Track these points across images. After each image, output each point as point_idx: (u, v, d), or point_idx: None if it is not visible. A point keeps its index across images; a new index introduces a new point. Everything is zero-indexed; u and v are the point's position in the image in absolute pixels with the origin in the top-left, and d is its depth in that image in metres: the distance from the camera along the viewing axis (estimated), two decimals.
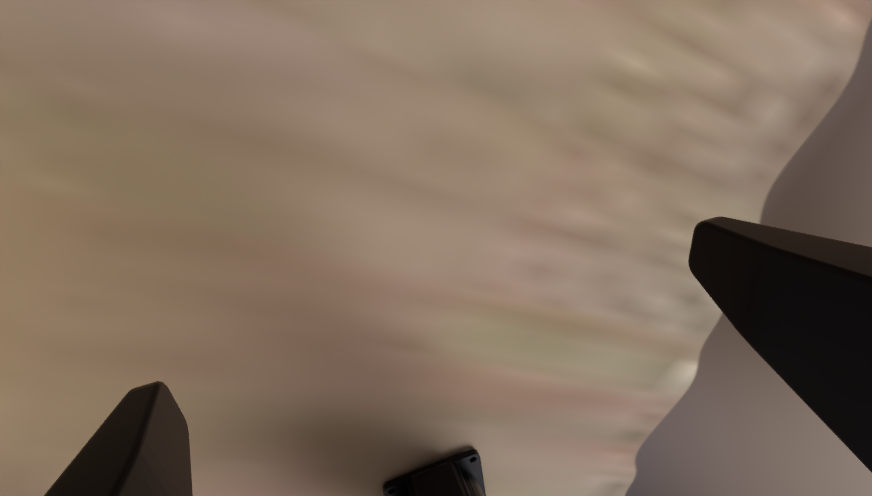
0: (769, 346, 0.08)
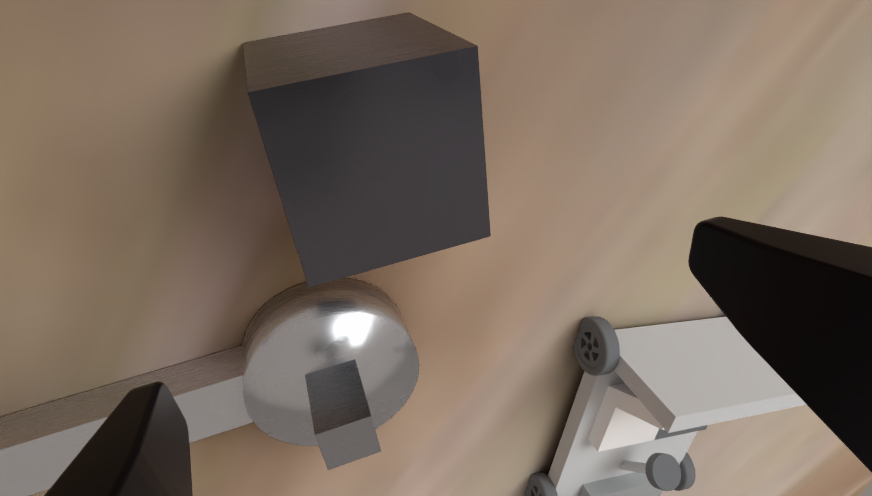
0: (769, 346, 0.08)
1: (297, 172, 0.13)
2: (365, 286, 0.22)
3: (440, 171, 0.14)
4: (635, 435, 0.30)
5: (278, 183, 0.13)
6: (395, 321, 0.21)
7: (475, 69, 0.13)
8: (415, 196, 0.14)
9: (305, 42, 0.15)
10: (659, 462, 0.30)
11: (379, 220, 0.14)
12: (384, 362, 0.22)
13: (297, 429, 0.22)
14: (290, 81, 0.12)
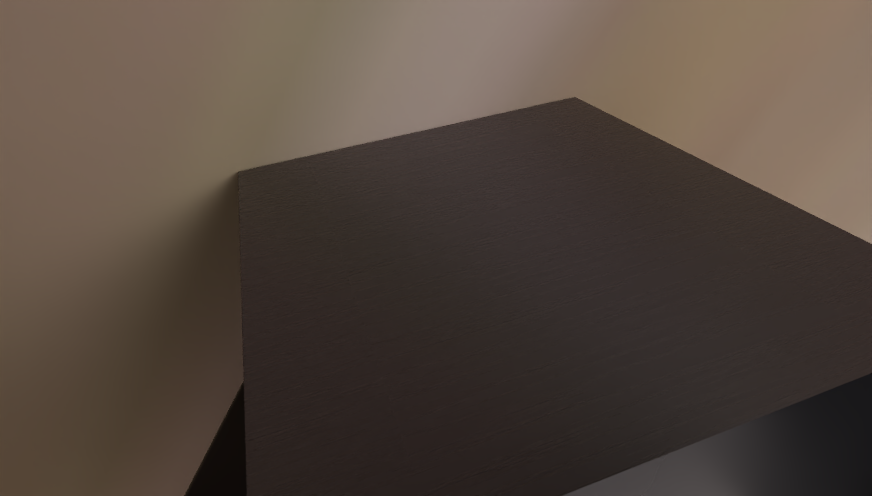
0: None
1: None
2: None
3: None
4: None
5: None
6: None
7: None
8: None
9: (386, 193, 0.06)
10: None
11: None
12: None
13: None
14: None
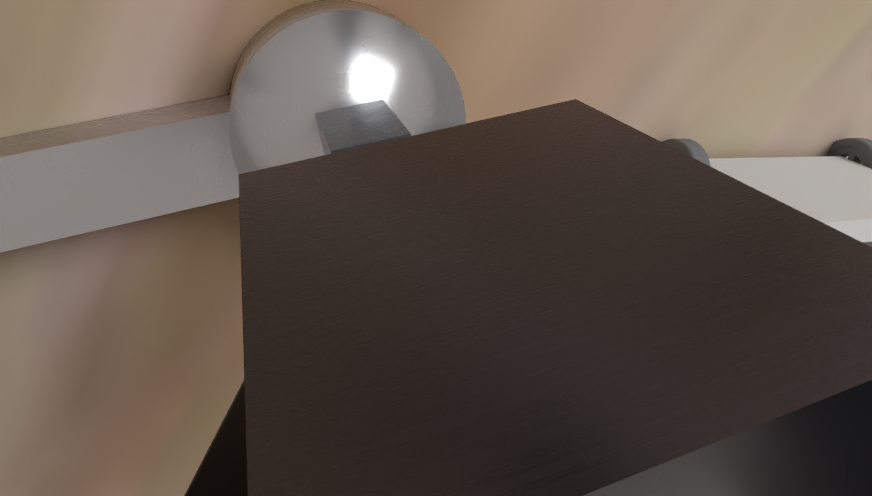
0: None
1: None
2: (395, 18, 0.16)
3: None
4: None
5: None
6: (438, 52, 0.16)
7: None
8: None
9: (387, 196, 0.06)
10: None
11: None
12: (421, 115, 0.16)
13: None
14: None
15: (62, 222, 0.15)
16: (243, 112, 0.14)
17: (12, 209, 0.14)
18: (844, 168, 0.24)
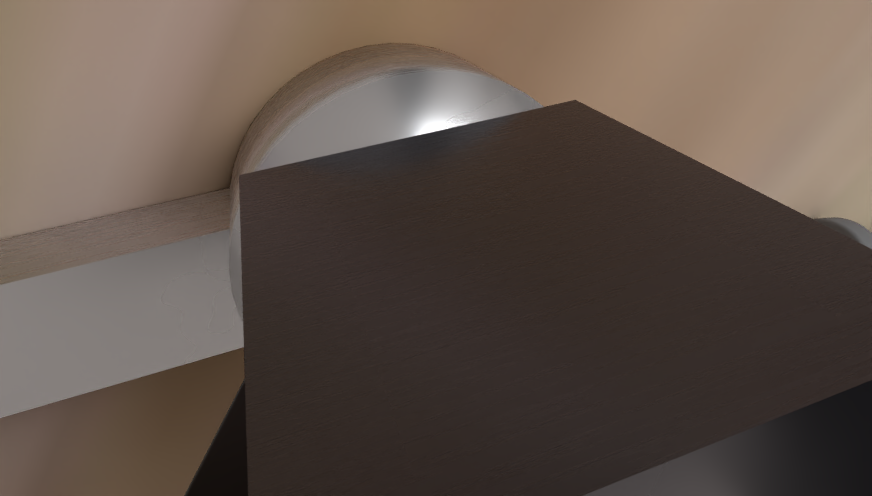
0: None
1: None
2: (482, 70, 0.11)
3: None
4: None
5: None
6: None
7: None
8: None
9: (386, 197, 0.06)
10: None
11: None
12: None
13: None
14: None
15: None
16: None
17: None
18: None
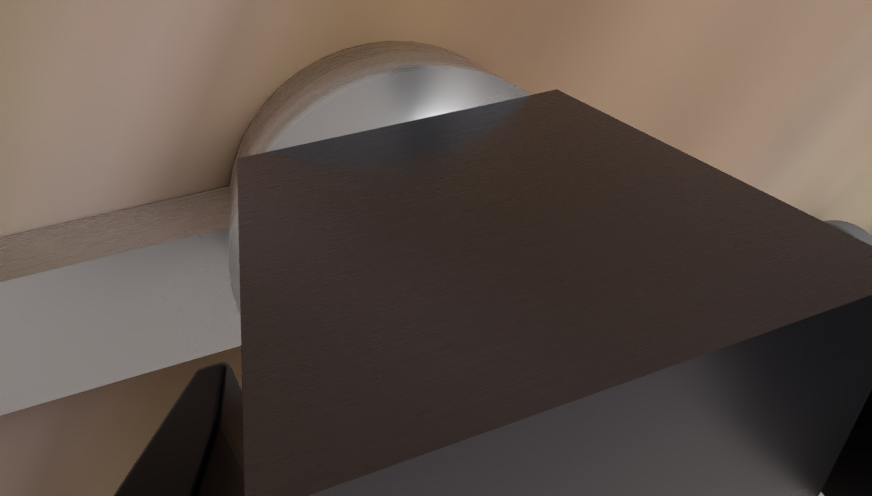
0: None
1: None
2: (482, 68, 0.11)
3: None
4: None
5: None
6: None
7: None
8: None
9: (375, 176, 0.07)
10: None
11: None
12: None
13: None
14: (392, 439, 0.03)
15: None
16: None
17: None
18: None
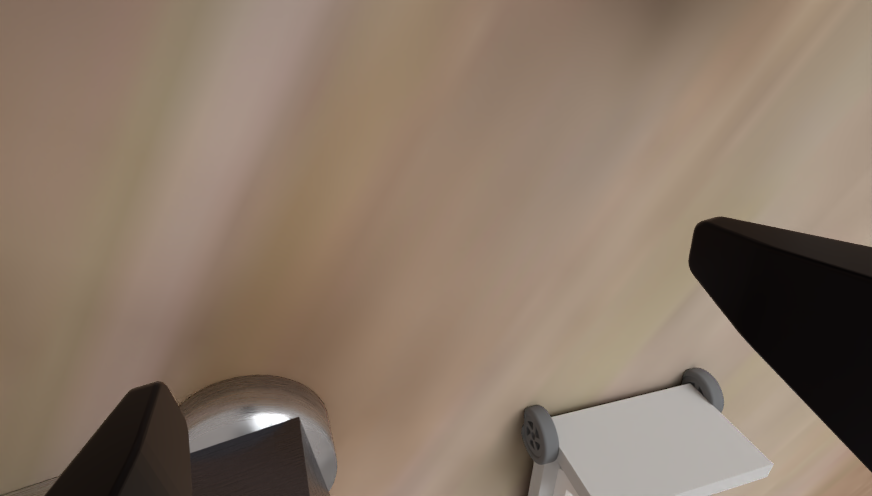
0: (769, 346, 0.08)
1: None
2: (282, 383, 0.22)
3: None
4: None
5: None
6: (308, 421, 0.21)
7: None
8: None
9: (200, 488, 0.18)
10: None
11: None
12: None
13: None
14: None
15: None
16: None
17: None
18: (683, 407, 0.30)
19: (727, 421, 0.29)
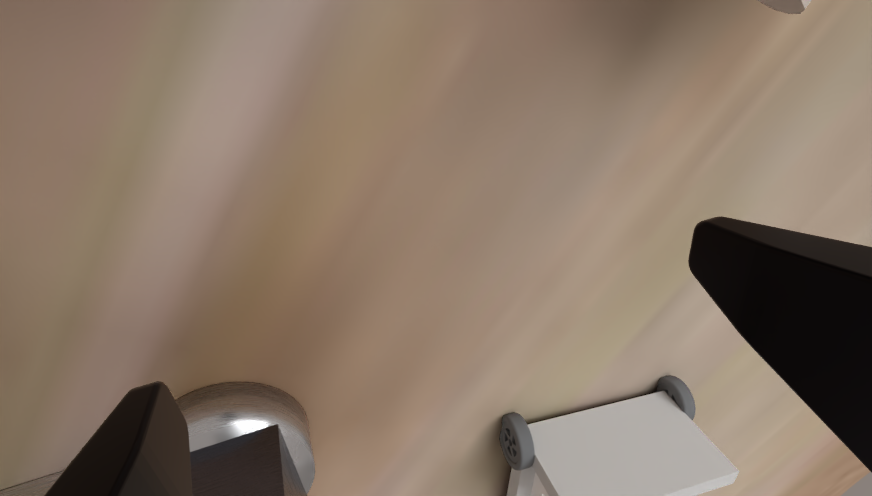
0: (769, 346, 0.08)
1: None
2: (262, 390, 0.23)
3: None
4: None
5: None
6: (287, 427, 0.22)
7: None
8: None
9: None
10: None
11: None
12: None
13: None
14: None
15: None
16: None
17: None
18: (656, 414, 0.31)
19: (697, 429, 0.30)
